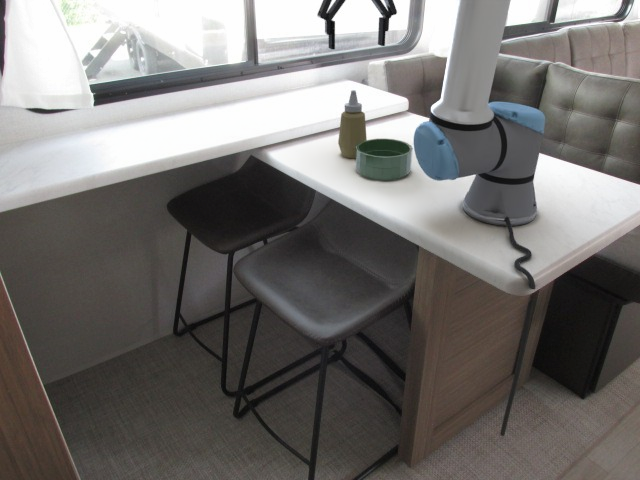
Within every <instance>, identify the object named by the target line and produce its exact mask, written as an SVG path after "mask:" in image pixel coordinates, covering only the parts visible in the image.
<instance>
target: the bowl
mask: <svg viewBox="0 0 640 480" xmlns="http://www.w3.org/2000/svg"><path fill="white" fill-rule="evenodd" d="M413 150H414V147H413V146H412V145H411V144H410V143H408V142H405V141H403V140H399V139H393V138H373V139H367V140H366V141H363V142H361V143H359V144H358V145H357V146H356V158H355V170H356V172H357V173H359V175H360V176H361V177H363V178H366V179H369V180H372V181H382V182H388V181H389V182H391V181H396V180H401V179H403V178H405V177H406V176H408V175H409V174H410V173H411V170H412V163H413V162H412V161H413V152H414V151H413Z"/></svg>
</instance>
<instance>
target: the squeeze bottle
mask: <svg viewBox="0 0 640 480" xmlns="http://www.w3.org/2000/svg"><path fill="white" fill-rule="evenodd" d="M362 109H363V104H362V103H360V102H359V101H358V95H357V91H356V90H354V89H352V90H350V95H349V100H348V102H346V103H345V104H344V111H342V113H341V115H340V123H339V132H338V142H337V143H338V147H339V150H340V154H341V156H342V157H344V158H348V159H356V146H357V145H358V144H359V143H361V142H363V141H366V140H368V139H367V126H366V125H367V124H366V113H365V112H364V111H362Z"/></svg>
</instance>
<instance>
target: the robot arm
mask: <svg viewBox="0 0 640 480" xmlns="http://www.w3.org/2000/svg"><path fill="white" fill-rule="evenodd" d="M332 1H333V0H322V2H321V4H320V7H319V9H318V11H317V18H320V19H322V20H324V33H325V35H326V36H328V49H330V50H335V49H336V21H335V20H333V19H334V17H335V16H336V14H337V13H338V12H339V11H340V9H341V8H342V6H343V5H344V3H345V2H346V1H347V0H335V1H333V4H332V5H331V3H332ZM383 1H384V2H383ZM383 1H382V0H371V2H372V4H373V6H375V8H376V9H377V10H378V12H379V14H380V15H381V17H378V30H377V31H378V32H377V35H378V36H377V45H378V46H381V47H385V46H386V32H389V30H390V19H391V18H392V16H395V15H397V14H398V10H397V8H396V4H395V3H394V0H383ZM384 3H385V4H384ZM455 4H456V5H455V10H454V15H453V22H452V29H451V35H450V41H449V46H448V53H447V58H446V65H445V71H444V76H443V83H442V89H441V95H440V99H438V100H437V101H436V102H435V103H433V104H432V105H431V107H430V112H429V118H428V120H427V121H422V122H421V123H419V125H418V126H417V127H416V129H415V131H414V133H413V150H414V155H415V158H416V160H417V163H418V165H419V167H420V169H421V170H422V172H423V173H424V174H425V175H426V176H427V177H428V178H430V179H431V180H432V181H437V182H441V181H448V180H449V181H455V180H457V179H461V178H465V177H470V176H474V178H473V180H472V183H471V185H470V187H469V189H468V191H467V192H466V194H465V196H464V198H463V205H462V208H463V209H462V210H463V211H464V213H466V215H468V216H469V217H471V218H473V219H475V220H476V221H479V222H482V223H485V224H489V225H495V226H504V227H506V228H507V230H508V231H507V232H508V236H509V241H510V244H512V246H513V247H515V249H518V250H519V251H521V252H524V253H526V254H525V255H523V256H520V257H517V259H516V260H515V261H514V267H515V268H516V269H517V270H518V271H519V272H520V273H522V274H523V275H525V277H526V278H527V281H528V285H529V288H530V289H531V290H532V291H533V290H536V283H535V280H534V277H533V276H532V273H530V272H529V270H527V269H526V268H524V267H523V266H522V265H521V264H520V263H522V262H525V261H528V260H530V259H531V258H532V256H533V253H532V251H531V250H530V249H529V248H527V247H525V246H523V245H521V244H520V243H518V242H517V241H516V238H515V235H514V230H513V226H514V227H516V226H521V225H526V224H528V223H530V222H532V221H533V220H535V218H536V214H537V210H538V205H537V200H536V192H535V191H536V190H535V184H534V181H535V174H536V169H537V165H538V161H539V157H540V153H541V149H542V143H543V138H544V135H545V125H546V115H545V113H544V112H542V111H541V110H540V109H538V108H535V107H532V106H528V105H525V104H520V103H515V102H508V101H491V102H489V100H490V96H491V92H492V87H493V82H494V78H495V72H496V68H497V64H498V59H499V56H500V51H501V47H502V46H501V45H502V42H503V37H504V32H505V28H506V23H507V19H508V14H509V9H510V5H511V0H456V3H455ZM534 304H535V299H533V300H530V301H529V300H528V303H527V307H526V311H525V312H526V313H525V319H524V326H523V331H522V338H521V341H520V346H519V353H518V357H517V362H516V367H515V370H514V376H513V380H512V382H511V383H512V384H511V386H510V391H509V395H508V399H507V402H506V403H507V404H506V406H505V412H504V415H503V419H502V424H501V428H500V433H499V434H500V436H501V437H504V436H506V435H505V434H506V431H507V426H508V423H509V418H510V414H511V410H512V406H513V402H514V398H515V395H516V390H517V387H518V382H519V379H520V374H521V371H522V366H523V361H524V357H525V353H526V347H527V342H528V336H529V333H530V332H529V330H530V324H531V318H532V314H533V308H534Z"/></svg>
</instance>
